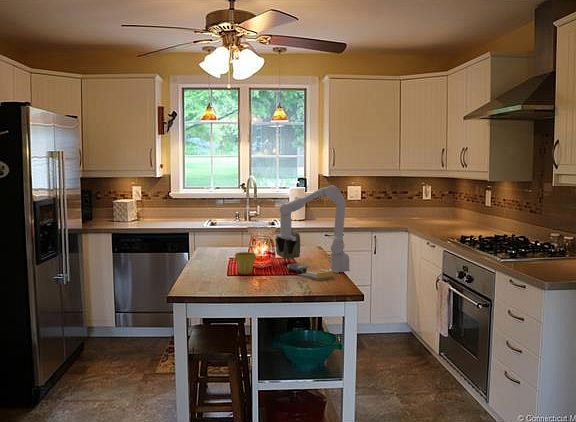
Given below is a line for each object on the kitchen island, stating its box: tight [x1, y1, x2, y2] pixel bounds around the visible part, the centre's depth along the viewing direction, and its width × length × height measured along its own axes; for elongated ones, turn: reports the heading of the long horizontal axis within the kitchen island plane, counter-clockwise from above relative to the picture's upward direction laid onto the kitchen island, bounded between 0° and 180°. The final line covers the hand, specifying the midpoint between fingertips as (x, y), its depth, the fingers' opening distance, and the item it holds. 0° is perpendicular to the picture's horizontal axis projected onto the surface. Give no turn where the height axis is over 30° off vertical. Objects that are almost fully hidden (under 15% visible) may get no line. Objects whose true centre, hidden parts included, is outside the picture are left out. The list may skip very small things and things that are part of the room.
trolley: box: [286, 262, 308, 274], centre depth 274 cm, size 6×9×4 cm
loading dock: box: [297, 269, 335, 281], centre depth 263 cm, size 10×16×4 cm, turn 37°
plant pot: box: [234, 251, 257, 275], centre depth 271 cm, size 10×10×10 cm
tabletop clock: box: [275, 227, 301, 265], centre depth 296 cm, size 14×9×25 cm, turn 22°
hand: (285, 253), depth 280 cm, fingers open, 7 cm apart
